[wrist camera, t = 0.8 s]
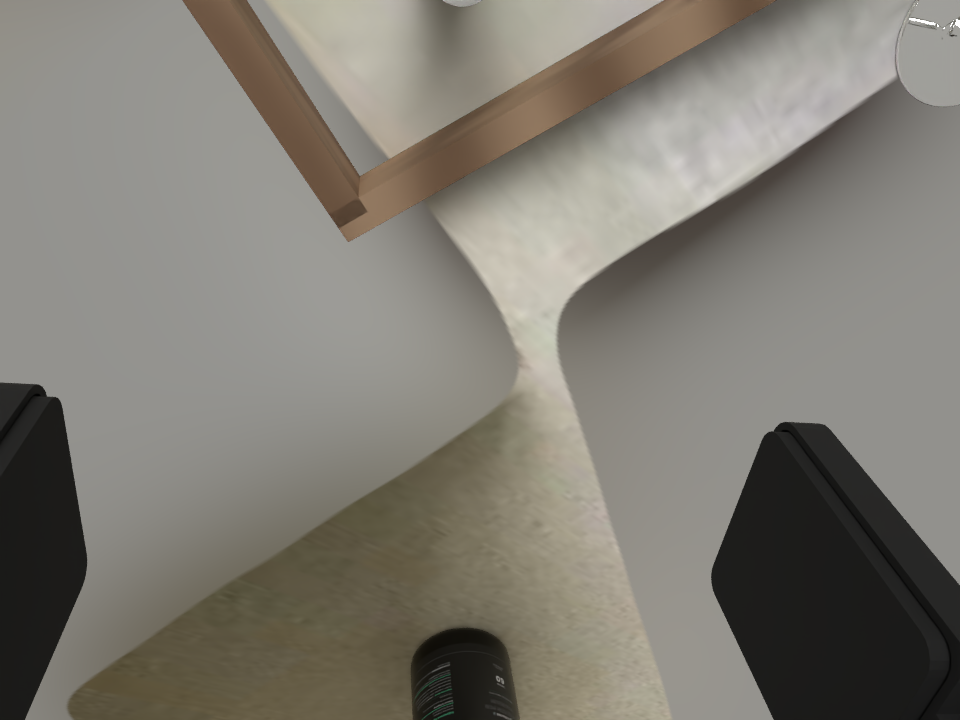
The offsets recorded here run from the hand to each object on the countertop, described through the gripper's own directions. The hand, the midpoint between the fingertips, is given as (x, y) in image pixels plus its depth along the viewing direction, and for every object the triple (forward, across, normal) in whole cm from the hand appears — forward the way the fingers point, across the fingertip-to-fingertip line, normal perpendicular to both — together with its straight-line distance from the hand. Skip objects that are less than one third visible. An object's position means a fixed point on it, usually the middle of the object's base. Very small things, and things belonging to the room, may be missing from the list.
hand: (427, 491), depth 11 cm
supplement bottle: (+28, -7, +38) cm, 48 cm away
